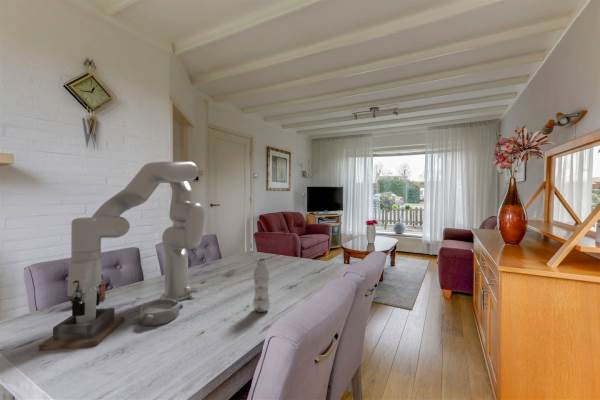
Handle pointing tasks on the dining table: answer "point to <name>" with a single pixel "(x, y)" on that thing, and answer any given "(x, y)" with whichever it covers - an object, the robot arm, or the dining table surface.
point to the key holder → (83, 331)
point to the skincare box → (88, 307)
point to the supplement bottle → (102, 290)
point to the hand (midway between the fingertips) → (86, 310)
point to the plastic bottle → (261, 286)
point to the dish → (159, 311)
